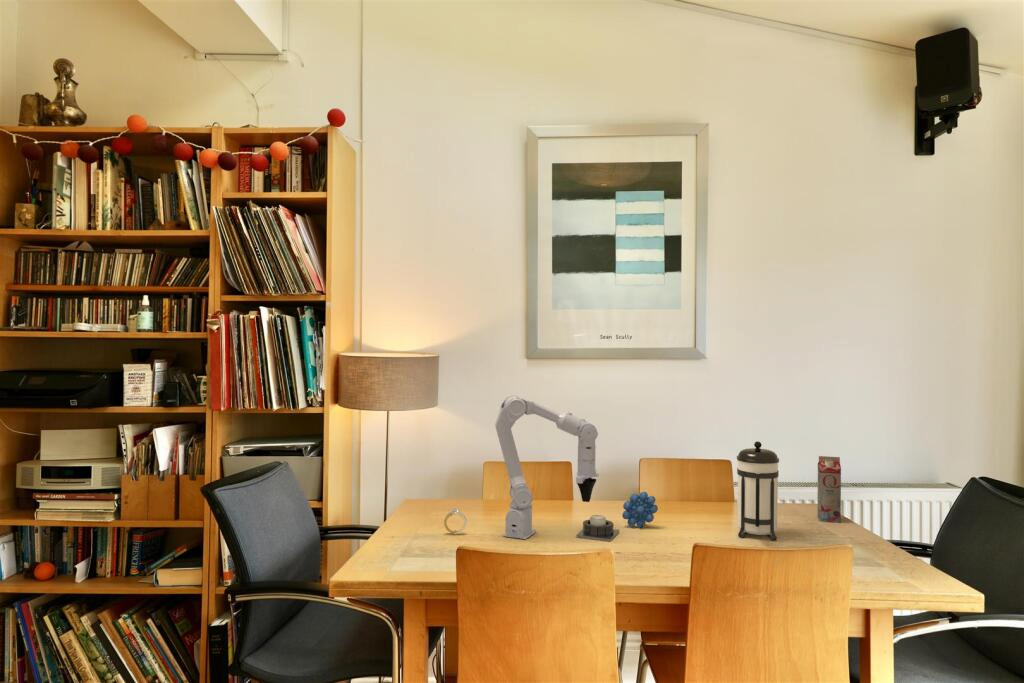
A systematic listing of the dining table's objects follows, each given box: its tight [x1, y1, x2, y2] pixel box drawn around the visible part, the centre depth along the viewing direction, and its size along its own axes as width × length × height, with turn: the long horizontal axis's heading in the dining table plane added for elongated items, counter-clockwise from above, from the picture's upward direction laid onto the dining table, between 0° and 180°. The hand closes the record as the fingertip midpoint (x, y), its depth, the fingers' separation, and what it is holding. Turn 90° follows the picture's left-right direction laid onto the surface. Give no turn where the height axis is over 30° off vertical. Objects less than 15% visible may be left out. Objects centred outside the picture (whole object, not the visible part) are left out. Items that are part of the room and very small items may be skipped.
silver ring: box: [443, 508, 467, 535], centre depth 217 cm, size 7×3×8 cm, turn 84°
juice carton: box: [816, 455, 842, 524], centre depth 236 cm, size 7×7×22 cm
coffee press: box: [736, 440, 780, 542], centre depth 216 cm, size 17×16×30 cm
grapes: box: [621, 491, 659, 528], centre depth 227 cm, size 12×7×12 cm, turn 81°
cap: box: [589, 514, 607, 526], centre depth 217 cm, size 5×5×5 cm
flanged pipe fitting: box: [575, 519, 620, 543], centre depth 217 cm, size 11×11×4 cm
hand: (586, 501), depth 221 cm, fingers closed
